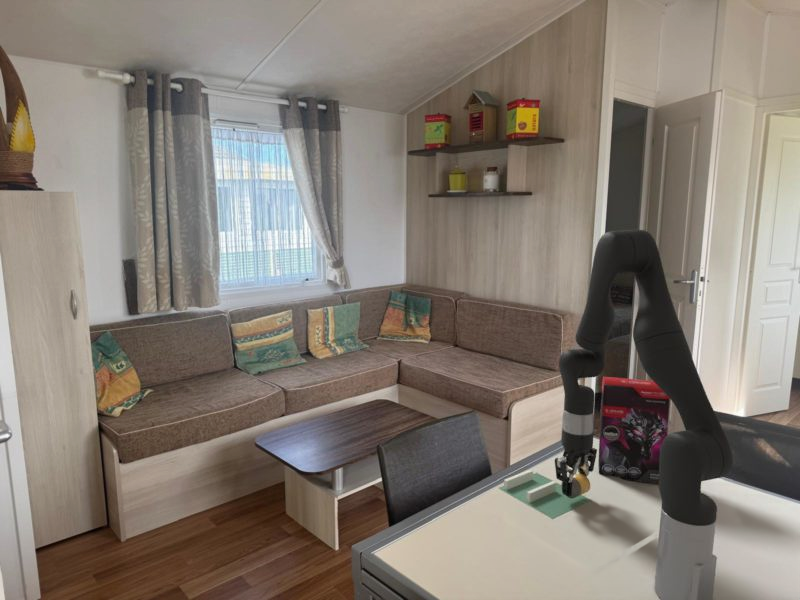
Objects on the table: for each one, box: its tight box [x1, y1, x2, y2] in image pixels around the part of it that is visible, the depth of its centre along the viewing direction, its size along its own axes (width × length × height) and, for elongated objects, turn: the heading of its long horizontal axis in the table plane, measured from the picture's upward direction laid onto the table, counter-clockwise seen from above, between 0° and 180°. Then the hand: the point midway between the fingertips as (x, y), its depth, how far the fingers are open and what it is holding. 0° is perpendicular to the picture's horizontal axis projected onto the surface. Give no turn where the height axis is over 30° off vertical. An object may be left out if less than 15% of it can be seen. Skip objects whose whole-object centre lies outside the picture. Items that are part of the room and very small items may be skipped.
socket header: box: [503, 469, 557, 503], centre depth 147 cm, size 9×10×2 cm
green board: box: [498, 472, 592, 520], centre depth 145 cm, size 18×15×1 cm
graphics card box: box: [597, 376, 671, 485], centre depth 155 cm, size 17×7×27 cm, turn 73°
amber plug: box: [560, 472, 591, 498], centre depth 142 cm, size 5×5×5 cm
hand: (574, 491), depth 142 cm, fingers closed on amber plug, 5 cm apart
